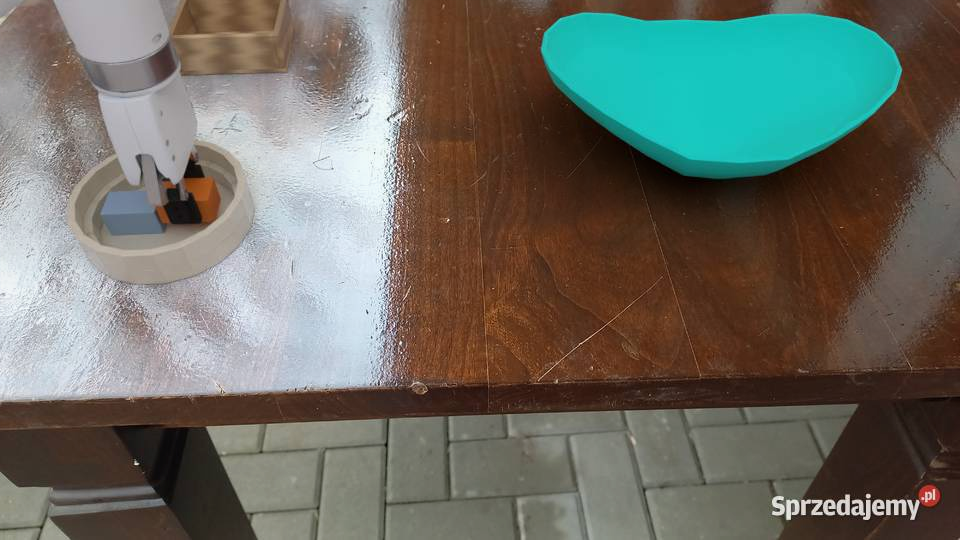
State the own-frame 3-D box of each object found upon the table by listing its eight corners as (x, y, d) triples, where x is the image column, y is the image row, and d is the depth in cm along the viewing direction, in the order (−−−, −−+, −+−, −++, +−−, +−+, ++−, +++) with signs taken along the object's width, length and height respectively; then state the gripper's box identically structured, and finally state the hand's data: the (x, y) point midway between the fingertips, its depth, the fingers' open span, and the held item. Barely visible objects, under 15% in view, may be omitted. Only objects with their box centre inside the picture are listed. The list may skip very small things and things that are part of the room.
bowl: (64, 292, 70) (41, 259, 66) (112, 174, 81) (94, 141, 77) (242, 284, 71) (229, 251, 67) (264, 169, 82) (254, 135, 78)
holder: (178, 75, 94) (164, 38, 90) (193, 33, 101) (181, -4, 97) (286, 72, 95) (278, 35, 91) (294, 30, 102) (287, -6, 97)
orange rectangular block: (162, 223, 73) (152, 201, 71) (169, 200, 76) (160, 178, 73) (215, 222, 74) (207, 200, 71) (221, 199, 76) (213, 177, 74)
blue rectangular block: (111, 235, 74) (99, 214, 72) (120, 212, 76) (108, 191, 74) (164, 233, 74) (154, 212, 72) (171, 210, 77) (161, 189, 74)
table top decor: (540, 223, 77) (552, 127, 67) (524, 78, 95) (532, -15, 85) (890, 221, 78) (953, 127, 68) (809, 79, 96) (850, -13, 86)
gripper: (112, 8, 65) (171, 157, 79) (55, 118, 55) (136, 267, 69) (193, 8, 66) (238, 156, 80) (153, 116, 55) (213, 265, 69)
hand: (190, 206), depth 74 cm, fingers closed on orange rectangular block, 3 cm apart
